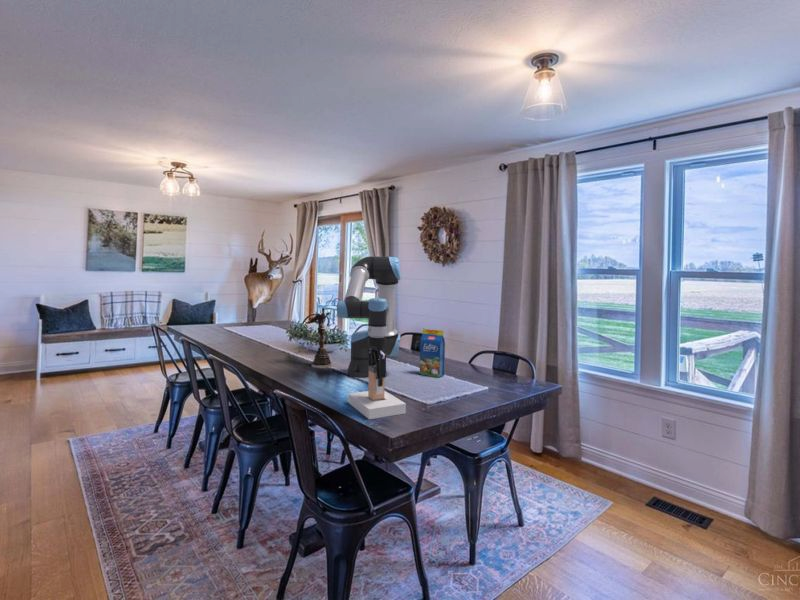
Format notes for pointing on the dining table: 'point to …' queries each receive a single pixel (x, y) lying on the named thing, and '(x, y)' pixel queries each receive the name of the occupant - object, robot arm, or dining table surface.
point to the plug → (374, 383)
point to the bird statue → (321, 342)
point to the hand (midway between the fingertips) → (376, 391)
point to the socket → (376, 405)
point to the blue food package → (432, 353)
